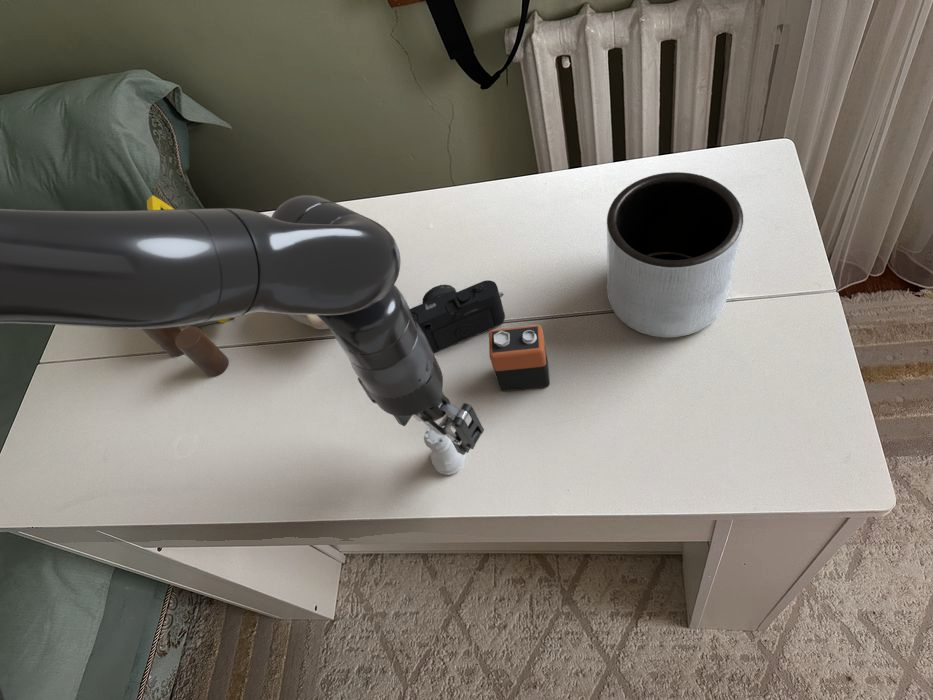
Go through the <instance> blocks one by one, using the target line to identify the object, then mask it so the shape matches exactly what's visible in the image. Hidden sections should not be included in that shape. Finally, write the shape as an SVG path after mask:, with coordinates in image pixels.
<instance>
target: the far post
mask: <svg viewBox="0 0 933 700" xmlns="http://www.w3.org/2000/svg"><path fill="white" fill-rule="evenodd" d="M140 330H141V331H143V333H145V334H146V335H147V336H148V337H149V338H150V339H151V340H153V341H154V343H155V344H157V346H159V347H160V348H161V349H162V350H163V351H164V352H165V353H167V354H168V355H169V356H170V357H173V358H177V357H180V356H183V355H185V354H184V353H183V352H182V351H181V350H180V349H179V348H178V347H177V346H176V343H175V340H176V337H177V335H178V334H179V333H180V332H181V331H182V330H183V329H181V328H180V326H178V327H170V328H157V329H140Z"/></svg>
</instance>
